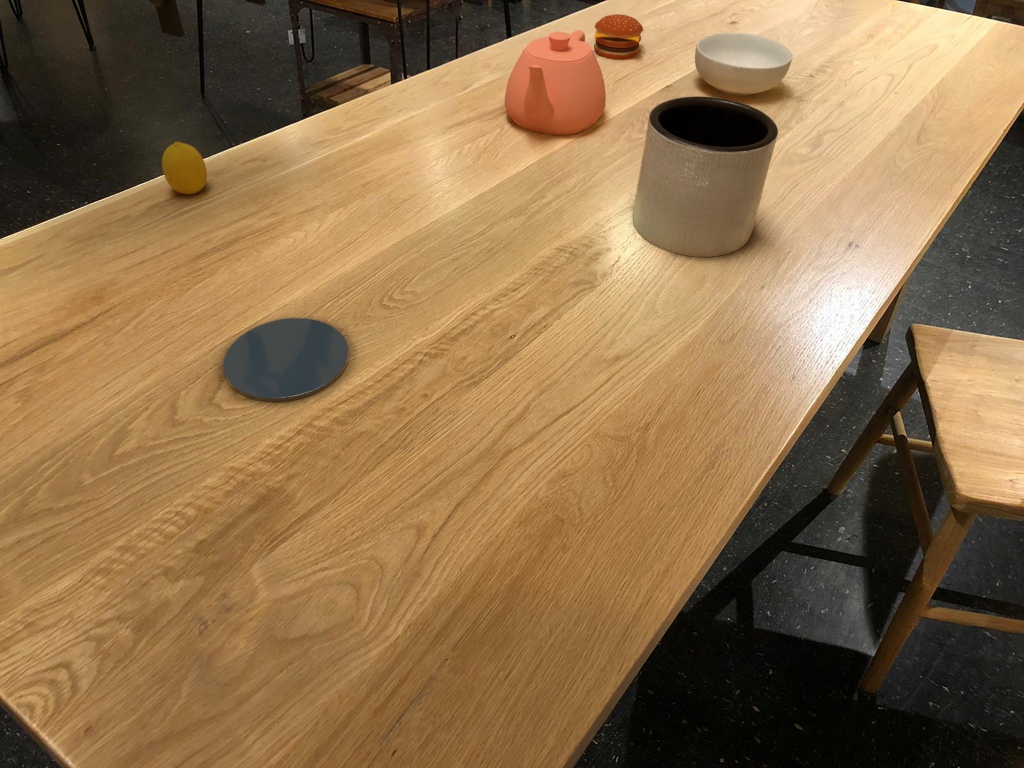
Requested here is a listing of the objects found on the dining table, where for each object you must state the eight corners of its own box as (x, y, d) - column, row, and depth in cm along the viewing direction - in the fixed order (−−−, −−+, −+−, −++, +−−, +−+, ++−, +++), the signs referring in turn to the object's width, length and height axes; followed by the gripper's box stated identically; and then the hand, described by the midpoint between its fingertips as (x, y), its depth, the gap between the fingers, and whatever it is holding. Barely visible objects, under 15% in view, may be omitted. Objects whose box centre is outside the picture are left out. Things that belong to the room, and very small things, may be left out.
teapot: (576, 159, 119) (584, 72, 110) (477, 139, 123) (477, 53, 114) (619, 99, 136) (629, 20, 127) (531, 83, 140) (535, 5, 131)
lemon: (163, 201, 106) (146, 147, 101) (187, 183, 110) (171, 130, 105) (198, 208, 105) (182, 154, 100) (220, 189, 109) (206, 136, 104)
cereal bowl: (673, 89, 140) (680, 49, 135) (713, 63, 150) (721, 25, 145) (759, 115, 133) (770, 74, 128) (796, 86, 143) (807, 47, 138)
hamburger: (594, 41, 157) (597, 7, 153) (640, 45, 156) (645, 11, 152) (590, 58, 150) (593, 22, 146) (639, 62, 149) (644, 26, 145)
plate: (199, 380, 80) (195, 370, 79) (282, 315, 89) (280, 304, 88) (296, 425, 76) (293, 415, 75) (374, 352, 84) (372, 341, 83)
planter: (769, 257, 100) (803, 146, 90) (653, 269, 98) (674, 155, 87) (721, 196, 112) (746, 91, 101) (616, 205, 109) (631, 98, 98)
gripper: (90, -187, 68) (158, 56, 83) (278, -211, 85) (308, -4, 99) (34, -194, 71) (110, 42, 85) (227, -216, 87) (263, -14, 102)
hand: (216, 17), depth 92 cm, fingers open, 13 cm apart
